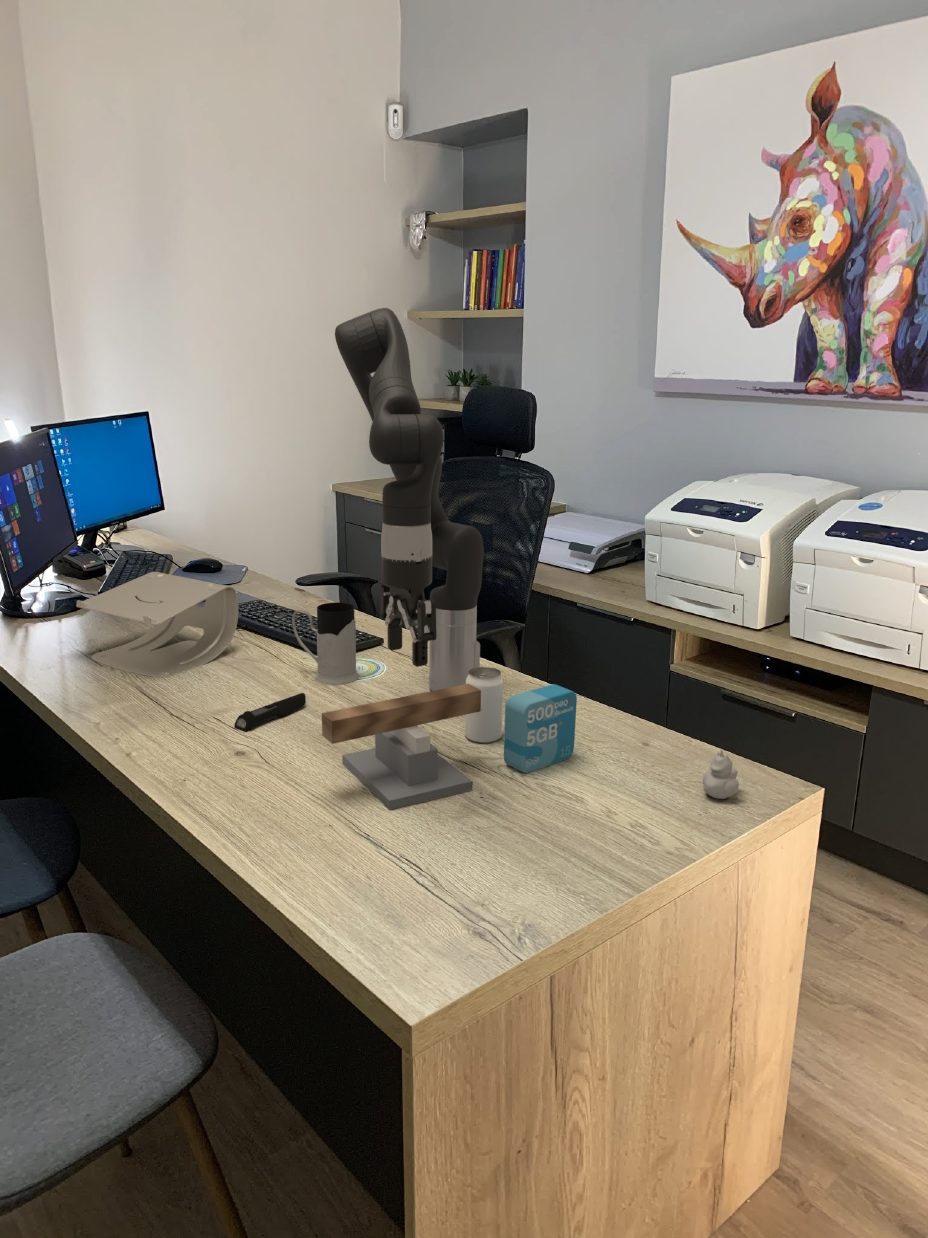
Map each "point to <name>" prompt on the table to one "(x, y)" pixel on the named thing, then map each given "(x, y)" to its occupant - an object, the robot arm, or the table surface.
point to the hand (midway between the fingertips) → (407, 657)
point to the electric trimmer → (269, 712)
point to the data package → (539, 727)
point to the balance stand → (406, 769)
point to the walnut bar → (400, 713)
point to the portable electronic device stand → (168, 622)
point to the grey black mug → (334, 643)
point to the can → (485, 706)
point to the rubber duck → (721, 778)
